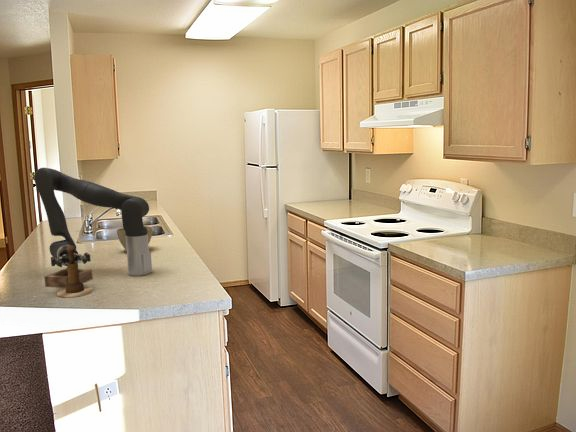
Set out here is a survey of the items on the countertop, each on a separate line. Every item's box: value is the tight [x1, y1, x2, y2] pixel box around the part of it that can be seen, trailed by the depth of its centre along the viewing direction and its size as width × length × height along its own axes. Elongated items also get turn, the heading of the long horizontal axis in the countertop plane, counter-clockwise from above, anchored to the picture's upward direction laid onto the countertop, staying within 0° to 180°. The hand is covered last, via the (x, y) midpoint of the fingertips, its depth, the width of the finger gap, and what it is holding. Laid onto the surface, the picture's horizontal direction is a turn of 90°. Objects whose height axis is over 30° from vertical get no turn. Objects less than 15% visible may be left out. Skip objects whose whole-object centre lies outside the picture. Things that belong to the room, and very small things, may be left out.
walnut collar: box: [44, 267, 93, 288], centre depth 215 cm, size 12×14×4 cm
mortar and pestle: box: [64, 245, 85, 293], centre depth 199 cm, size 7×6×18 cm
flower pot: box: [116, 225, 153, 251], centre depth 272 cm, size 18×18×12 cm
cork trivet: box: [56, 285, 94, 299], centre depth 200 cm, size 13×13×1 cm
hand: (72, 262), depth 197 cm, fingers open, 8 cm apart
